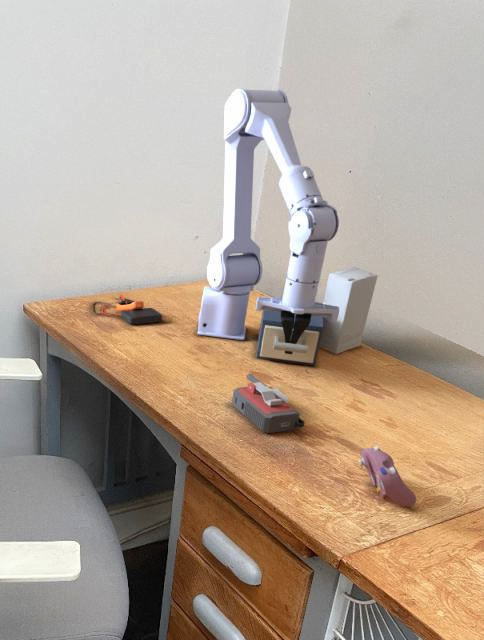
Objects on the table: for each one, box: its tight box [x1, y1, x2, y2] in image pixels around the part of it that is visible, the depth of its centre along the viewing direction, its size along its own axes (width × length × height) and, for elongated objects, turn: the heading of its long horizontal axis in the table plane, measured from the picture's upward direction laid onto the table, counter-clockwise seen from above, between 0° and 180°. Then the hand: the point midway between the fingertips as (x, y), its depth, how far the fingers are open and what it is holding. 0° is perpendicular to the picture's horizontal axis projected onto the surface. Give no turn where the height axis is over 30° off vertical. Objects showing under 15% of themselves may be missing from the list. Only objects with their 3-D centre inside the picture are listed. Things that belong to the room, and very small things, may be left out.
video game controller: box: [358, 445, 417, 508], centre depth 108 cm, size 10×5×7 cm, turn 5°
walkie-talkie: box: [231, 373, 306, 434], centre depth 129 cm, size 9×4×20 cm
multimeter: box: [92, 294, 163, 325], centre depth 166 cm, size 18×12×3 cm, turn 21°
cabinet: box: [255, 310, 323, 367], centre depth 151 cm, size 13×11×8 cm
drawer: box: [260, 324, 319, 363], centre depth 148 cm, size 16×10×6 cm, turn 169°
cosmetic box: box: [319, 266, 379, 355], centre depth 153 cm, size 8×6×15 cm
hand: (288, 352), depth 144 cm, fingers closed, pressing on drawer
